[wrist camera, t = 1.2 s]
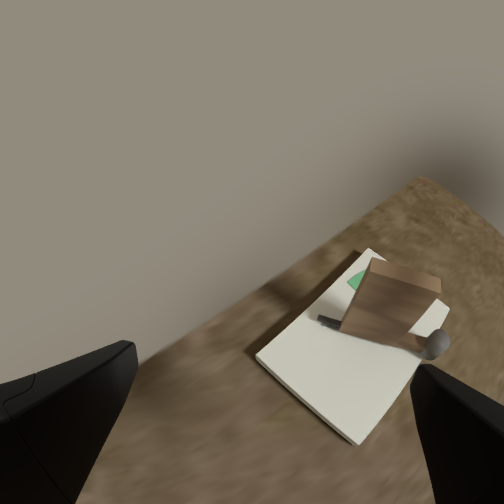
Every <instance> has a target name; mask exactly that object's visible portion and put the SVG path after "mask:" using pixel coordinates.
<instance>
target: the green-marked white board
mask: <svg viewBox="0 0 504 504" xmlns="http://www.w3.org/2000/svg"><path fill="white" fill-rule="evenodd" d="M372 257H375V258H378V259H381V260H384V261H386V260H385V259H383V258H382V257H381V256H379V255H378V254H376V253H375V252H374V251H372V250H371V249H369V248H368V249H367V250H366V251H365V252H364V253H363V254H362V255H361V256H360V257H359V258H358V259H357V260H356V261H355V262H354V263H353V264H352V265H351V266H350V267H349V268H348V269H347V270H346V271H345V272H344V273H343V274H342V275H341V276H340V277H339V278H338V279H337V280H336V281H335V282H334V283H333V284H332V285H331V286H330V287H329V288H328V289H327V290H326V291H325V292H324V293H323V294H322V295H321V296H320V297H319V298H318V299H317V300H316V301H315V302H314V303H313V304H311V305H310V306H309V307H308V308H307V309H306V310H305V311H304V312H303V313H302V314H301V315H300V316H299V317H298V318H296V319H295V320H294V321H293V322H292V323H291V324H290V325H289V326H288V327H287V328H285V329H284V330H283V331H282V332H281V333H280V334H279V335H278V336H277V337H275V338H274V339H273V340H272V341H271V342H270V343H269V344H267V345H266V346H265V347H264V348H263V349H262V350H261V351H259V352H258V353H257V354H256V360H257V361H258V362H259V363H260V364H261V365H262V366H263V367H264V368H265V369H267V370H268V371H269V372H270V373H271V374H272V375H273V376H274V377H275V378H276V379H277V380H278V381H279V382H280V383H282V384H283V385H284V386H285V387H286V388H287V389H288V390H289V391H290V392H291V393H293V394H294V395H295V396H296V397H297V398H298V399H299V400H300V401H302V402H303V403H304V404H305V405H306V406H307V407H308V408H309V409H311V410H312V411H313V412H314V413H315V414H316V415H318V416H319V417H320V418H321V419H322V420H323V421H325V422H326V423H327V424H328V425H329V426H330V427H332V428H333V429H334V430H335V431H336V432H338V433H339V434H340V435H341V436H343V437H344V438H345V439H346V440H347V441H349V442H350V443H351V444H352V445H354V446H359V445H360V444H361V443H362V441H363V440H364V439H365V438H366V437H367V435H368V434H369V433H370V432H371V431H372V429H373V428H374V427H375V426H376V424H377V423H378V422H379V421H380V419H381V418H382V417H383V415H384V414H385V413H386V411H387V410H388V409H389V407H390V406H391V405H392V403H393V402H394V401H395V399H396V398H397V396H398V395H399V394H400V392H401V391H402V389H403V388H404V386H405V385H406V383H407V382H408V380H409V379H410V377H411V376H412V374H413V373H414V371H415V370H416V368H417V366H418V365H419V363H420V362H421V360H422V358H423V356H422V355H421V353H419V352H416V351H412V350H408V349H404V348H401V347H397V346H394V347H393V346H389V345H386V344H382V343H378V342H375V341H371V340H368V339H364V338H361V337H358V336H354V335H351V334H347V333H344V332H341V331H339V328H340V327H337V326H334V325H331V324H328V323H324V322H321V321H318V320H317V318H318V315H319V314H320V315H323V316H326V317H329V318H333V319H336V320H339V321H341V320H342V318H343V316H344V314H345V312H346V310H347V308H348V306H349V304H350V302H351V300H352V298H353V296H354V294H355V292H356V290H357V288H358V286H359V283H360V281H361V279H362V277H363V275H364V273H365V271H366V269H367V266H368V264H369V262H370V260H371V258H372ZM449 310H450V308H448V307H447V306H446V305H445V304H443V303H442V302H441V301H439V300H438V299H436V300H435V301H434V302H433V304H432V305H431V306H430V307H429V308H428V310H427V311H426V312H425V313H424V314H423V315H422V317H421V318H420V319H419V320H418V321H417V322H416V323H415V325H414V326H413V327H412V328H411V329H410V330H409V331H408V332H409V333H413V334H416V335H420V336H423V337H428V336H429V335H430V334H431V333H432V332H433V331H434V330H436V329H440V327H441V325H442V323H443V321H444V319H445V318H446V316H447V314H448V312H449Z"/></svg>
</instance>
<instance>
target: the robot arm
mask: <svg viewBox="0 0 504 504" xmlns="http://www.w3.org/2000/svg"><path fill="white" fill-rule="evenodd" d="M137 370H138V358H137V353H136V346H135V344H134V343H133V342H130V341H126V340H121V341H118V342H116V343H113V344H111V345H108V346H106V347H103V348H101V349H98V350H96V351H93V352H90V353H88V354H85V355H83V356H80V357H77V358H75V359H72V360H69V361H67V362H64V363H61V364H59V365H56V366H53V367H50V368H48V369H45V370H42V371H40V372H37V373H34V374H31V375H28V376H25V377H23V378H19V379H17V380H13V381H10V382H6V383H3V384H0V504H75V503H76V501H77V498H78V496H79V494H80V492H81V490H82V488H83V486H84V484H85V482H86V480H87V478H88V475H89V473H90V471H91V469H92V467H93V465H94V463H95V461H96V459H97V457H98V455H99V453H100V451H101V449H102V447H103V445H104V443H105V441H106V439H107V437H108V435H109V433H110V431H111V430H112V428H113V426H114V424H115V422H116V420H117V418H118V416H119V414H120V412H121V410H122V408H123V406H124V404H125V401H126V399H127V396H128V393H129V391H130V388H131V386H132V383H133V380H134V378H135V375H136V373H137ZM410 394H411V399H412V404H413V409H414V415H415V420H416V425H417V430H418V434H419V437H420V441H421V444H422V448H423V452H424V455H425V459H426V463H427V467H428V471H429V475H430V480H431V484H432V489H433V493H434V498H435V503H436V504H504V406H503V405H501V404H499V403H498V402H496V401H494V400H492V399H491V398H489V397H487V396H485V395H484V394H482V393H480V392H478V391H477V390H475V389H473V388H471V387H470V386H468V385H466V384H465V383H463V382H461V381H459V380H458V379H456V378H454V377H452V376H451V375H449V374H447V373H446V372H444V371H442V370H440V369H439V368H437V367H435V366H433V365H432V364H420V365H419V366H418V367H417V369H416V372H415V374H414V377H413V379H412V382H411V384H410Z"/></svg>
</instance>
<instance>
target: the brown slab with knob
mask: <svg viewBox="0 0 504 504" xmlns="http://www.w3.org/2000/svg"><path fill="white" fill-rule="evenodd" d="M440 294H441V280H440V278H437V277H434V276H431V275H428V274H425V273H422V272H419V271H416V270H413V269H410V268H407V267H403V266H400V265H397V264H394V263H391V262H388V261H384V260H381V259H378V258H375V257H372V258H371V260H370V262H369V264H368V266H367V269H366V271H365V273H364V275H363V277H362V279H361V281H360V283H359V286H358V288H357V290H356V292H355V294H354V296H353V298H352V300H351V302H350V304H349V306H348V308H347V310H346V312H345V314H344V316H343V318H342V320H341V321H339V320H336V319H333V318H329V317H326V316H323V315H320V314H319V315H318V318H317V320H318V321H321V322H324V323H328V324H331V325H334V326H337V327H340V328H339V331H341V332H344V333H347V334H351V335H354V336H358V337H361V338H364V339H368V340H371V341H375V342H378V343H382V344H386V345H389V346H393V347H394V346H397V347H401V348H404V349H408V350H412V351H416V352H419V353H421V355H422V356H423V357H424V358H425V359H427V360H434V359H436V358H437V357H438V356H439V355H441V354H442V353H443V352H444V351H445V350H447V349H448V347H449V345H450V338H449V335H448V334H447V333H446V332H445V331H444V330H442V329H436V330H434V331H433V332H432V333H431V334H430V335H429V336H428V337H423V336H420V335H416V334H413V333H409V332H408V331H409V330H410V329H411V328H412V327H413V326H414V325H415V323H416V322H417V321H418V320H419V319H420V318H421V317H422V315H423V314H424V313H425V312H426V311H427V310H428V308H429V307H430V306H431V305H432V304H433V302H434V301H435V300H436V299H437V297H438V296H439V295H440Z"/></svg>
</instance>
